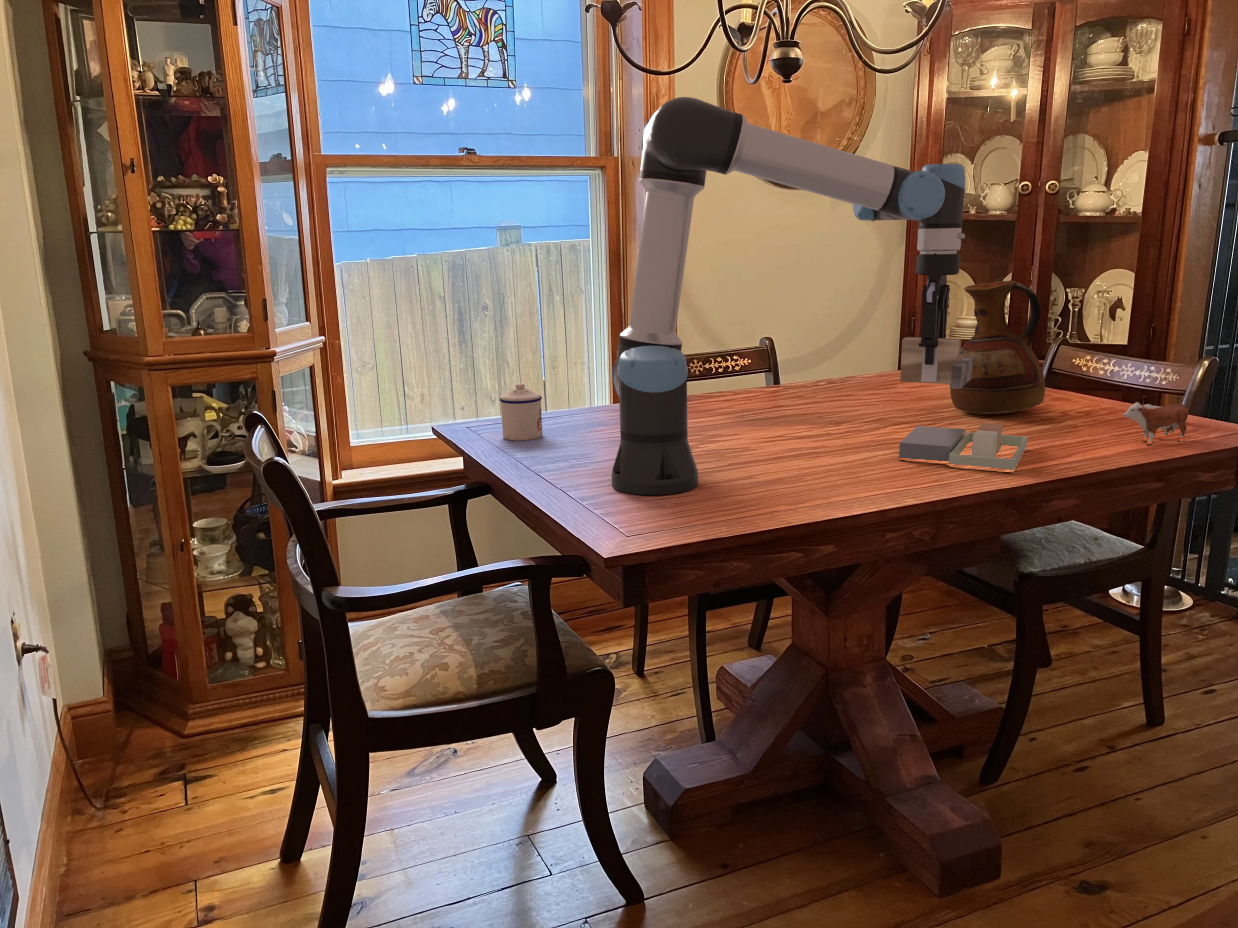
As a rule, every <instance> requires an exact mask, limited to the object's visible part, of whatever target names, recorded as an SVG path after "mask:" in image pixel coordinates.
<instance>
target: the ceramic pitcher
mask: <svg viewBox="0 0 1238 928" xmlns="http://www.w3.org/2000/svg"><path fill="white" fill-rule="evenodd" d="M963 290H964V291H965V292H966V293H968V295H970V297H971V298H972V299H973V302H974V311H973V313H974V314H973V315H974V318H975V319H976V325H975V329H974V334H973V335H972V337H971V338H969V340H967V341H966V342H965V343H964V344H963V346H961V353H960V360H961V359H963V358H964V357H973V369H972V379H971V380H969V381H968V382H967V383H966V384H965V385H964V386H963V387H962V388H961V389H951V384H949V391H950V392H949V393H950V399H951V401H952V405H953V406H954V407H955V408H956V409H958V410H959V411H962V412H965V411H966V413H970V412H971V414H975V413H978V414H977V415H996V414H997V415H999V414H1000V415H1001V413H1002V414H1009V413H1011V414H1012V413H1015V412H1020V411H1024V410H1027V409H1032V408H1034V407H1036V406H1040V405H1041V404H1042V403H1043V402H1044V399H1045V393H1046V381H1045V375H1044V371H1043V368H1042V365H1041V363H1040V360H1039V358H1038V357H1037V355H1036V353H1035V352H1034V351H1033V348H1032V344H1033V341H1034V337H1035V334H1036V331H1037V328H1038V325H1039V323H1040V319H1041V313H1042V312H1041V311H1042V310H1041V308H1042V307H1041V302H1040V299H1039V297H1038V295H1037V294H1036V292H1035V291H1033V289H1031V288H1030V287H1028V286H1026V285H1025V284H1022V283H1021V282H1017V281H1016V280H1000V281H993V282H983V283H978V284H977V283H976V284H971V285H967V286H965V287H964V288H963ZM1015 291H1018V292H1022V293H1024V294H1026V296H1027V298H1028V300H1029V304H1030V305H1029V306H1030V316H1029V319H1028V323H1027V325H1026V327H1025V330H1024V331H1023V332H1022V333H1021V334H1020V335H1018V334H1017V333H1014V332H1013V331H1011V329H1010V327H1009V325H1008V322H1007V318H1006V300H1007V297H1008V295H1009V294H1010V293H1012V292H1015Z"/></svg>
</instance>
